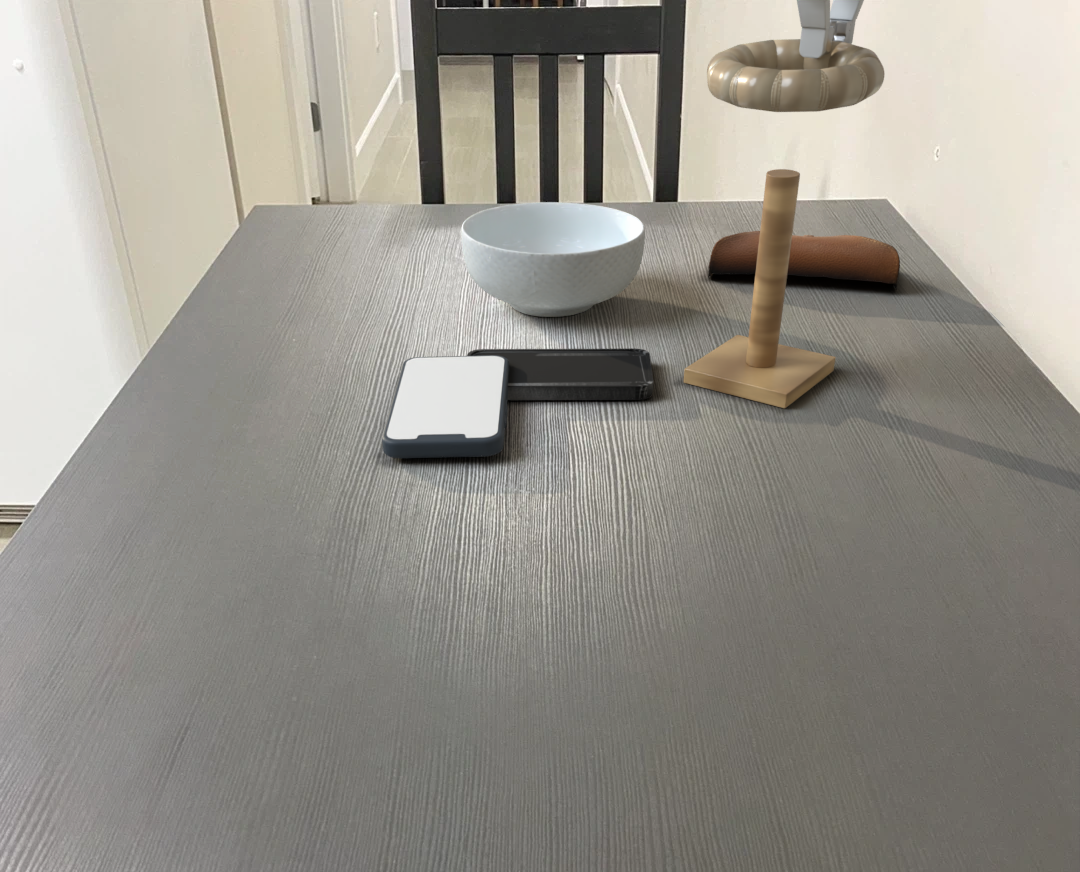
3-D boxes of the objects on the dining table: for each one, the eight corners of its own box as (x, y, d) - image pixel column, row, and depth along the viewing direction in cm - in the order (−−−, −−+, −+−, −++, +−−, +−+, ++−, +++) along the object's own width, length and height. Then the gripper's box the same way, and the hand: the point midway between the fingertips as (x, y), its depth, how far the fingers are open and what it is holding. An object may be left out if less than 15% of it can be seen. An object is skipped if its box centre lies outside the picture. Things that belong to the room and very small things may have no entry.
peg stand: (833, 371, 89) (867, 168, 80) (785, 409, 84) (814, 196, 74) (735, 348, 93) (755, 152, 84) (683, 382, 88) (698, 177, 78)
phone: (654, 386, 84) (460, 386, 85) (653, 400, 85) (461, 400, 85) (648, 347, 90) (468, 348, 91) (648, 361, 91) (469, 361, 91)
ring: (906, 84, 76) (912, 44, 75) (834, 124, 70) (840, 81, 68) (754, 67, 82) (758, 30, 80) (674, 103, 75) (676, 63, 73)
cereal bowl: (633, 340, 95) (636, 255, 90) (447, 331, 97) (441, 248, 93) (648, 277, 108) (652, 200, 103) (484, 271, 110) (481, 196, 106)
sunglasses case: (897, 262, 109) (909, 210, 103) (890, 319, 107) (901, 269, 100) (717, 251, 112) (718, 200, 106) (706, 306, 110) (707, 257, 104)
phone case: (404, 375, 90) (380, 463, 77) (402, 355, 89) (377, 442, 76) (511, 372, 89) (504, 461, 77) (510, 353, 88) (503, 439, 76)
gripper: (838, -205, 61) (802, 80, 69) (964, -203, 73) (920, 37, 82) (737, -203, 63) (715, 70, 72) (875, -202, 76) (842, 30, 85)
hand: (825, 52), depth 77 cm, fingers closed on ring, 2 cm apart
